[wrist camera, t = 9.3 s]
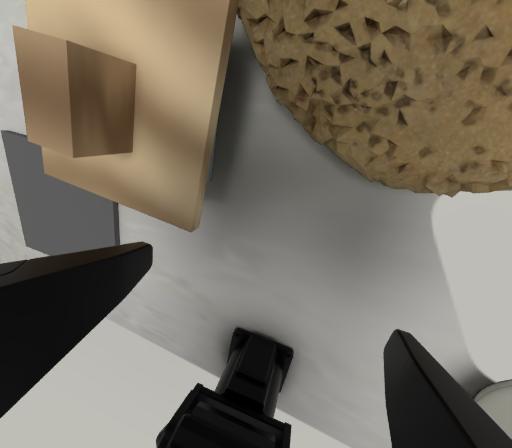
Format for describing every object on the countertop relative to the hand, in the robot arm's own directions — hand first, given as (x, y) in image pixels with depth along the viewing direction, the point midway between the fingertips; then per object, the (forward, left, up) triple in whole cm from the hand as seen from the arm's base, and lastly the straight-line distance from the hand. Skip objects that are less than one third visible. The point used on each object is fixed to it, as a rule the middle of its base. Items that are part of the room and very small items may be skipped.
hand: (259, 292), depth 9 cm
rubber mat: (-7, +25, -12) cm, 29 cm away
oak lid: (+5, +12, -7) cm, 15 cm away
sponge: (+11, -2, -12) cm, 17 cm away
